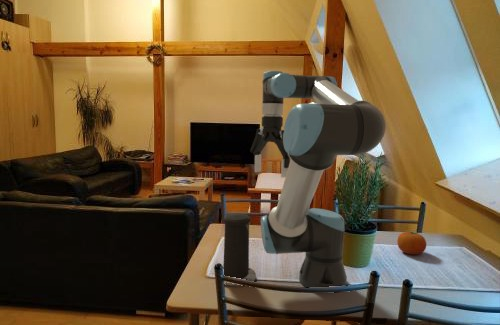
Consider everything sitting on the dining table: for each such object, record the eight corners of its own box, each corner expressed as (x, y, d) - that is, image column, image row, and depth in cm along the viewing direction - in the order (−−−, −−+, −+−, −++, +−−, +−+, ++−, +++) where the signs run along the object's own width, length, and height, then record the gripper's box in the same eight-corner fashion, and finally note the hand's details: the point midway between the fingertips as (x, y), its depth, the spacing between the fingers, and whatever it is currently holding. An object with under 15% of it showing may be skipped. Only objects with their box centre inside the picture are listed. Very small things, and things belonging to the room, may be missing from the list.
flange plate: (263, 278, 114) (263, 275, 114) (233, 291, 105) (233, 287, 105) (238, 265, 124) (238, 262, 123) (208, 276, 115) (208, 272, 115)
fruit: (415, 259, 132) (416, 239, 131) (391, 250, 141) (392, 231, 140) (430, 254, 138) (432, 235, 137) (406, 246, 147) (408, 227, 146)
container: (254, 273, 115) (256, 214, 112) (236, 282, 108) (237, 220, 105) (235, 265, 120) (236, 209, 118) (216, 274, 114) (217, 214, 111)
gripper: (306, 116, 118) (303, 178, 121) (256, 115, 136) (254, 169, 139) (292, 116, 113) (289, 180, 116) (241, 115, 131) (240, 170, 134)
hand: (270, 174), depth 127 cm, fingers open, 13 cm apart
